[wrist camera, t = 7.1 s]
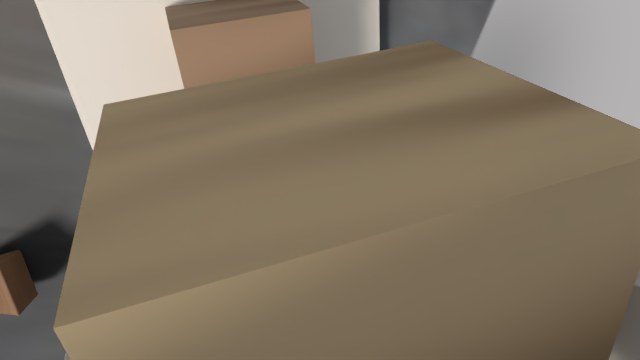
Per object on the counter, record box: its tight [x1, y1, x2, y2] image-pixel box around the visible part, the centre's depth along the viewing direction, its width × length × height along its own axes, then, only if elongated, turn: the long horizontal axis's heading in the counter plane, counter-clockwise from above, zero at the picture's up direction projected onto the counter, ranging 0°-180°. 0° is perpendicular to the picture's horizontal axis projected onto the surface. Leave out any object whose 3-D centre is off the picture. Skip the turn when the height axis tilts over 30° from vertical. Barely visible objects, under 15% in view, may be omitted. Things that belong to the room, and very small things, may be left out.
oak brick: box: [53, 41, 640, 360], centre depth 8 cm, size 8×6×5 cm
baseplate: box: [35, 0, 380, 150], centre depth 26 cm, size 18×17×1 cm
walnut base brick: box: [165, 0, 315, 89], centre depth 24 cm, size 8×6×5 cm
